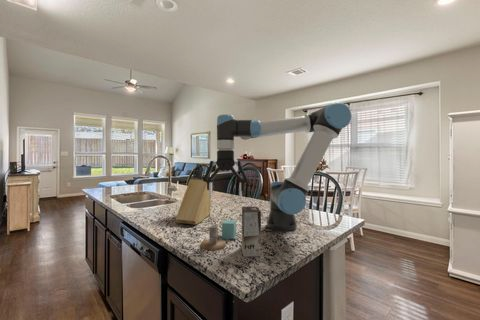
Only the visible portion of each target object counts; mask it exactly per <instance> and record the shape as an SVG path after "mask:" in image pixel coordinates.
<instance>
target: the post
mask: <svg viewBox="0 0 480 320" xmlns="http://www.w3.org/2000/svg"><path fill="white" fill-rule="evenodd" d="M218 230H219V228H218V225H210V226H209V233H208V235H209V238H208V239H204V240H203V241H201V242H200V248H201V249H202V250H206V251H220V250H222V249H225V248H226V246H227V242H226V241H225V240H223V239H222V238H218V234H219V233H218Z"/></svg>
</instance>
